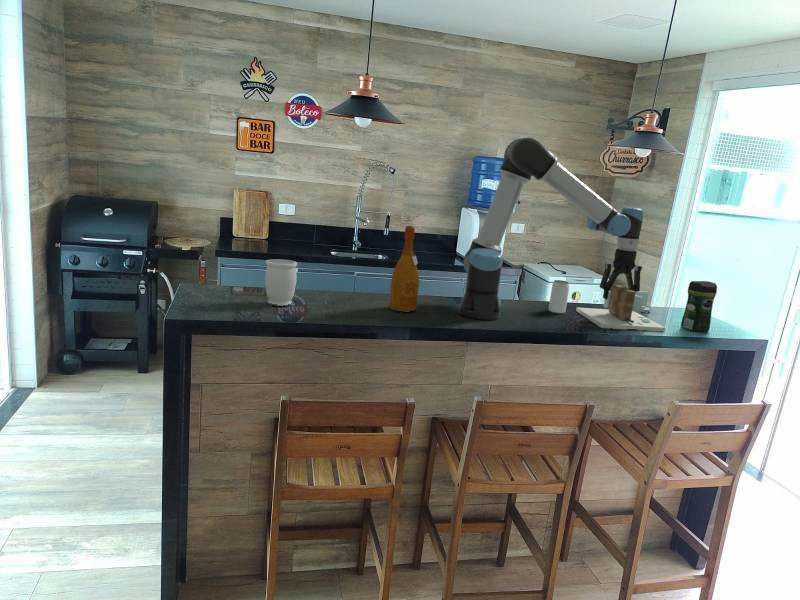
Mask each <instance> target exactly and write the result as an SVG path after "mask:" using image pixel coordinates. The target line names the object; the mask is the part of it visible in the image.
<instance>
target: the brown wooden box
mask: <svg viewBox="0 0 800 600" xmlns="http://www.w3.org/2000/svg"><path fill="white" fill-rule="evenodd" d="M634 298H635V291H633V290H630V289H629V288H628V287H626V286H624V285H622V284H613V285H612V290H611V296H610V301H609V307H608V309H609V313H611V314H613V315H614V316H616V317H618V318H619V319H621V320H625V321H630V322H631V323H634V321H633V320H631V314H632V309H633V303H634Z"/></svg>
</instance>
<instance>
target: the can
mask: <svg viewBox="0 0 800 600" xmlns="http://www.w3.org/2000/svg"><path fill="white" fill-rule="evenodd" d="M569 283H570V282H569V281H566V280H562V279H561V280H560V279H555V280H553V282H552V284H551V291H550V297H549V304H548V305H549V306H548V311H549V312H550V313H553V314H565V313H566V311H567V304H568V299H569V291H570V284H569Z"/></svg>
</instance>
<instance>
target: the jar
mask: <svg viewBox="0 0 800 600" xmlns="http://www.w3.org/2000/svg"><path fill="white" fill-rule="evenodd" d="M265 265H266V269H265V274H264V284H265V291H266V296H267V298H268V300H267V302H269V303H272V304H277V305H288V304H291V303H292V304H293V302H292V299H294V298H293V297H294V295H295V290H296V287H297V280H298V279H297V278H298V277H297V275H298V273H297V268H296V267H297V266H298V262H297V261H294V260H291V259H283V258H281V259H279V258H278V259H277V258H276V259H275V258H274V259H272V258H271V259H267V260H265Z"/></svg>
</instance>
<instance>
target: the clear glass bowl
mask: <svg viewBox="0 0 800 600" xmlns="http://www.w3.org/2000/svg"><path fill="white" fill-rule="evenodd" d="M649 293H650V292H649V291H639V292H636V293H635V298H634V303H633V309H632V311H635V312H638V313H641V311H643V312H649V311H650V312H651V308H650V307H647V304H648V300H649V299H648V298H649ZM643 307H644V308H643ZM650 312H649V313H650Z"/></svg>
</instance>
